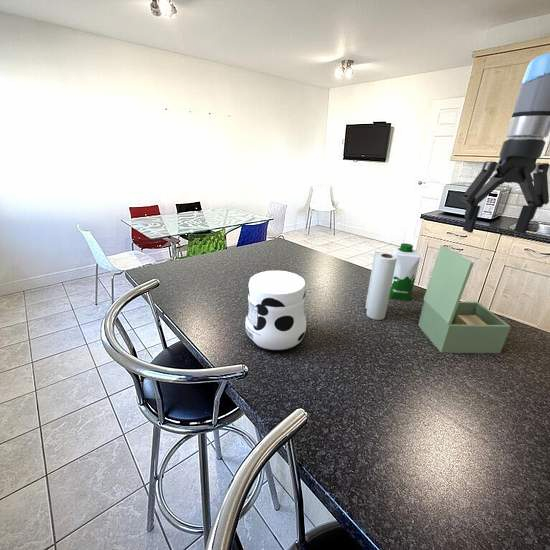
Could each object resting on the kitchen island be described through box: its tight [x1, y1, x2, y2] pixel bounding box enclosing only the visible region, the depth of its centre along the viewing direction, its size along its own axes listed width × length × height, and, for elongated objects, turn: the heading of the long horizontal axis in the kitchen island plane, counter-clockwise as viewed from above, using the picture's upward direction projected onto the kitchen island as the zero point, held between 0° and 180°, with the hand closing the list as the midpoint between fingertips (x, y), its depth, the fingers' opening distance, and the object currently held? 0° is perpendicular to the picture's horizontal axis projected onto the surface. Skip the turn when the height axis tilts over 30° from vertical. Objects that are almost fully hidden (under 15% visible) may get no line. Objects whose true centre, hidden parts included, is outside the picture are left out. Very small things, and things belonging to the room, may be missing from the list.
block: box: [455, 315, 487, 325], centre depth 85 cm, size 6×6×6 cm
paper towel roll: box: [364, 250, 397, 321], centre depth 94 cm, size 7×6×21 cm
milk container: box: [244, 270, 307, 352], centre depth 81 cm, size 17×17×18 cm
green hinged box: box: [417, 300, 512, 354], centre depth 85 cm, size 17×14×9 cm
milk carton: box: [389, 242, 421, 301], centre depth 106 cm, size 9×9×20 cm
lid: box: [423, 244, 475, 324], centre depth 79 cm, size 17×14×1 cm
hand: (493, 231), depth 74 cm, fingers open, 13 cm apart
